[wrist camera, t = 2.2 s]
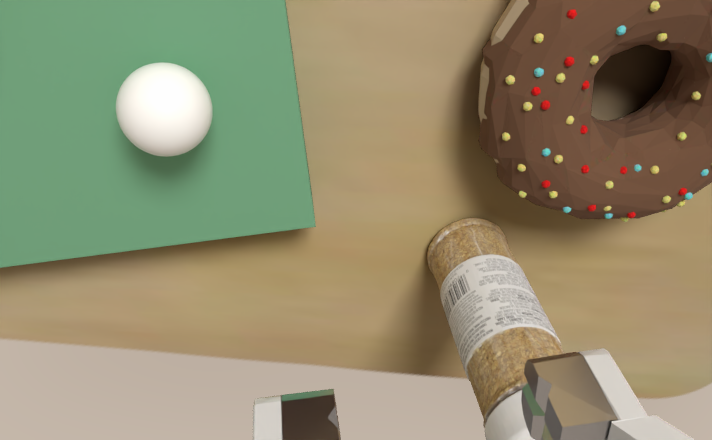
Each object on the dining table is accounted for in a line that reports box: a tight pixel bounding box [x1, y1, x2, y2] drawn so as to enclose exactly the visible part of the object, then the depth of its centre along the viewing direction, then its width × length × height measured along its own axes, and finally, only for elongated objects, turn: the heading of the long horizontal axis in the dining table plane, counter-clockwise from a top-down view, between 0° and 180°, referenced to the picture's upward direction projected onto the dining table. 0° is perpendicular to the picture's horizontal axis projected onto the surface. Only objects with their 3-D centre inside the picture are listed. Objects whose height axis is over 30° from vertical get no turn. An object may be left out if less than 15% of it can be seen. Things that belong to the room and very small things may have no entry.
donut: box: [479, 0, 712, 222], centre depth 28 cm, size 14×14×5 cm
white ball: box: [116, 62, 212, 157], centre depth 24 cm, size 4×4×4 cm
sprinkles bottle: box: [427, 218, 564, 440], centre depth 30 cm, size 5×5×14 cm
